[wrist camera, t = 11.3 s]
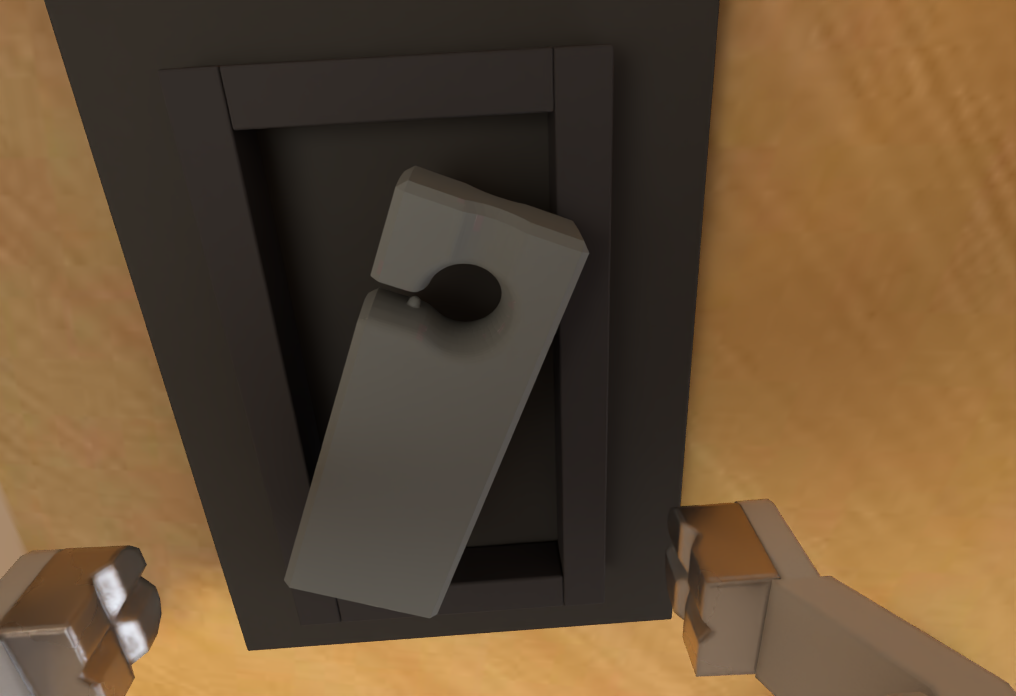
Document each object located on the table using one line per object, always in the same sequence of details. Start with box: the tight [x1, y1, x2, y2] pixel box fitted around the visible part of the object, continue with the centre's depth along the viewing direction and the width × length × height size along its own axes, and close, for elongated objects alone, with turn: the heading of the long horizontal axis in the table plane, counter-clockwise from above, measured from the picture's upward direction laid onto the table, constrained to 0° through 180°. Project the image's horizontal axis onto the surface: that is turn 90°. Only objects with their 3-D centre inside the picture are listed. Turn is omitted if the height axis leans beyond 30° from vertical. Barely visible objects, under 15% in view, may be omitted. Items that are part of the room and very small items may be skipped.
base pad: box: [44, 0, 720, 651], centre depth 17 cm, size 20×14×2 cm
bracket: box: [284, 166, 589, 618], centre depth 15 cm, size 4×10×2 cm, turn 160°
